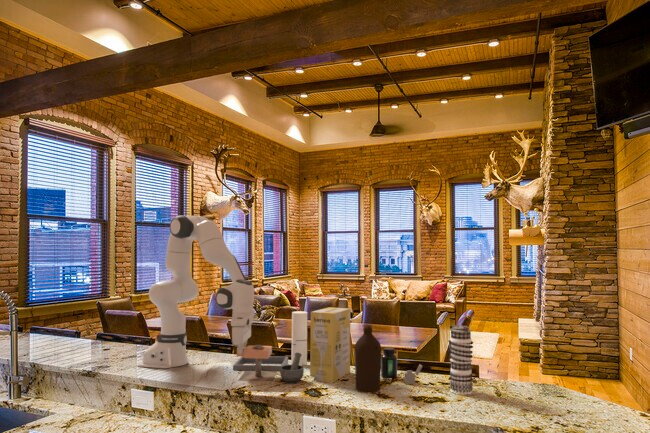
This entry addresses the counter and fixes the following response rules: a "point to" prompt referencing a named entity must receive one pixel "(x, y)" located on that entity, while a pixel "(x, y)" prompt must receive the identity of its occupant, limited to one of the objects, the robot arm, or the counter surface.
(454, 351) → the grey banded cylinder
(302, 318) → the cylindrical container
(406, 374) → the lighter
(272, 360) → the tray
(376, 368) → the olive oil
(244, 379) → the stake stand
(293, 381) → the mortar and pestle
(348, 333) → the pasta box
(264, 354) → the ring
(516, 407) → the counter surface
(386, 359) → the supplement bottle
